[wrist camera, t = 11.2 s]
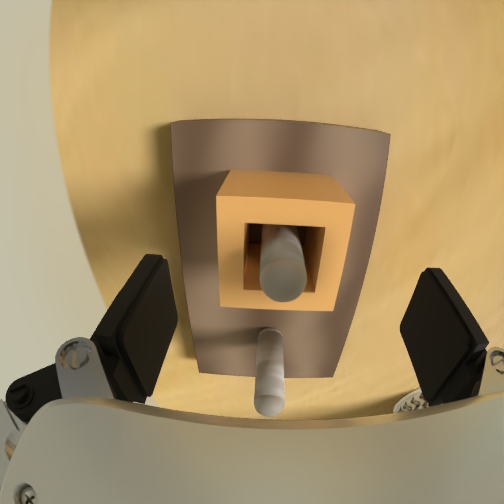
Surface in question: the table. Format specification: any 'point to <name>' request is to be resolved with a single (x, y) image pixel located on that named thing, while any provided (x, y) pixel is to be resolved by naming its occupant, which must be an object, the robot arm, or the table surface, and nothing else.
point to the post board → (271, 246)
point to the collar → (284, 213)
